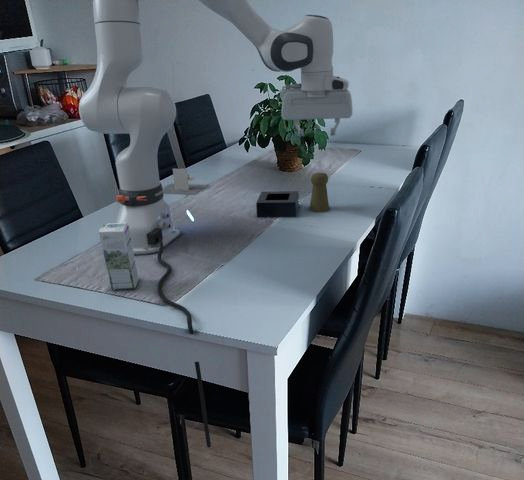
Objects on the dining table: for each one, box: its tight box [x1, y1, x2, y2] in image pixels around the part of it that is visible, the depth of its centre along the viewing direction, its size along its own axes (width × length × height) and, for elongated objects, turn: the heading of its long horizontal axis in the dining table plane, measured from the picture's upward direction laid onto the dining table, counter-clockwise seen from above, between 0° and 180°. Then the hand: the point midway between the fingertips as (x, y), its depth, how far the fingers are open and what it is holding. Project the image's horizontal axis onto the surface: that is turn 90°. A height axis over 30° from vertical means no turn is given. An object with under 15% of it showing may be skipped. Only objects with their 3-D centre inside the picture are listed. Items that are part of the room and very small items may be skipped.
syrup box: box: [98, 222, 139, 291], centre depth 125 cm, size 6×6×14 cm
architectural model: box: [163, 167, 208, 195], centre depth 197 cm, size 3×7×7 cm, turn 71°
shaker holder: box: [255, 190, 300, 218], centre depth 170 cm, size 12×12×4 cm
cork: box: [309, 172, 330, 213], centre depth 168 cm, size 6×6×11 cm
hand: (316, 135), depth 158 cm, fingers open, 8 cm apart
